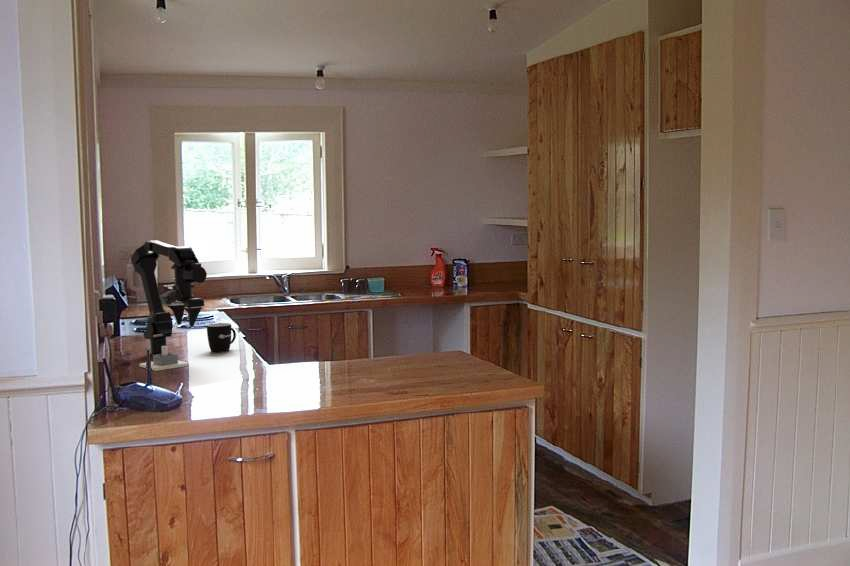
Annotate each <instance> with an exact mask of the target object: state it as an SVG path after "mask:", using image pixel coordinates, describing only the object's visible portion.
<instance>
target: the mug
mask: <svg viewBox="0 0 850 566" xmlns="http://www.w3.org/2000/svg"><path fill="white" fill-rule="evenodd" d="M206 334H207V341H208V347H209V350H210V352H212V353H213V354H214V353H216V354H217V353H226V352H229V351H230V348H231V345H232V344H233V343H234V342H235V340H236V337H237V335H236V334H237V333H236V331H235V329H234V328H233V327H232V323H230V322H218V323H217V322H216V323H208V324H207V325H206Z"/></svg>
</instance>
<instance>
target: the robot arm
mask: <svg viewBox="0 0 850 566" xmlns="http://www.w3.org/2000/svg"><path fill="white" fill-rule="evenodd" d="M160 255H161V256H164V257H167V258H168V260H169V261H171V262H172V263H173V264H172V266H171V267H170V269H171V270H174V284H173V285H172V286H171V290H168V291H166V292H163V293H162V294H160V290H159V286H158V283H157V279H156V278H157V277H156V274H155V271H156V269H157V266H158V264H157V263H158V262H157V260H158V259H159V258H160ZM130 262H131V264H132V266H133V269H134V271H135V272H136V273H137V274H138V275H139V276H140V279H141V282H142V286H143V287H142V288H143V291H144V295H145V299H146V303H147V306H148V307H147V308H148V311H149V312H148V313H149V314H148V316H147V319H146V322H147V325H146V327H145V329H144V331H143V333H142V335H143V339H145V340H149V346H150V347H149V348H150V354H151V355H150V356H153V355H157V354H162V347H161V346H167V338H171V337H172V336H173V335H172V334H173V329H174V324H173V323H174V322H173V320H172V316H171V315H172V314H171V312H170V311H166V310H165V309H164V307H163V306H164V305H166V307H167V308H169V309H170V310H171V311H172V313H173V315H174V318H175V320H176V324H177V325H178V326H179V325H181V324H182V322H183V317H184V313H185V311H186V313H187V318H188V324H189V327H190V328H194V326H195V323H196V321H197V318H198V316H199V314H200V312H201V310H202V309H203V308H204V307H205V300H204V299H203V298H201V297H195V295H193V288H195V284H201V283H204V282H205V281H206V279H207V276H208V274H207V272H206V271H207V270H206V269H205V268H204V267H202V263H201V262H199V259H198V258H197V256H196V254H195V252H194V250H193V248H192V247H191V246H187V245H186V246H175V245H172V244H168V243H166V242H162V241H160V240H158V239H156V240H147V241H145V242H144V244H143V245H141V246H140V247H138V248H137V249H135V251H134V252H133V253H132V255H131V257H130ZM194 283H195V284H194ZM168 353H171V351H168Z"/></svg>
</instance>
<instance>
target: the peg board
mask: <svg viewBox="0 0 850 566" xmlns="http://www.w3.org/2000/svg"><path fill="white" fill-rule="evenodd" d="M161 347H162V356H167V355H168V352H169V347H168V345H166V346H161ZM150 362H151V368H152V370H151V371H155V372H156V371H164V370H170V369H177V368H182V367H189V365H190V363H189V362H187V361H184V360H183V361H182V360H179V359H178V363H177V364H170V365H164V366H160V365H156V364H153V361H150ZM146 363H147V362H141V363H139V367H140V368H144V369H147V368H146Z"/></svg>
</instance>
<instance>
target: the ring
mask: <svg viewBox="0 0 850 566" xmlns="http://www.w3.org/2000/svg"><path fill="white" fill-rule="evenodd" d="M178 360H179V355H178V354H176V353H172V352H170V353H168V355H167V356H162V354H157V355H152V362H153V364H156V365H160V366H164V365H170V364H177V363H178Z"/></svg>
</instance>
